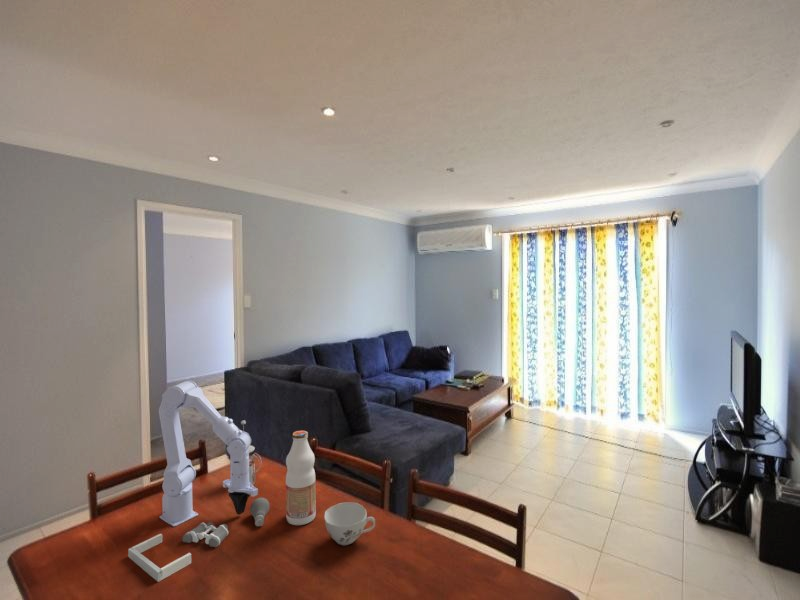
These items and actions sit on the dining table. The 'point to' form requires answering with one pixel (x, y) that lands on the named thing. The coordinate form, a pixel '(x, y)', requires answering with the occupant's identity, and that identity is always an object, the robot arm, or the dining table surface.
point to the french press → (251, 461)
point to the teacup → (347, 522)
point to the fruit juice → (300, 481)
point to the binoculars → (202, 531)
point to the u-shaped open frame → (150, 567)
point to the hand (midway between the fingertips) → (240, 512)
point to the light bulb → (259, 510)
